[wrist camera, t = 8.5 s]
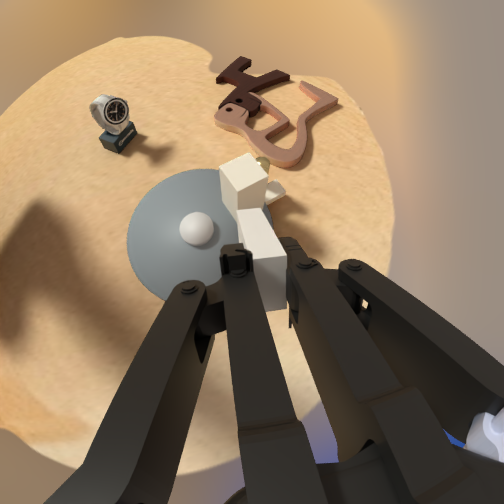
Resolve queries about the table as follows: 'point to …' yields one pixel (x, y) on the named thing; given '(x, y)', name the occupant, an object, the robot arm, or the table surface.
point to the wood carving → (248, 104)
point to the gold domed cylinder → (264, 163)
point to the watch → (113, 122)
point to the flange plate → (194, 222)
